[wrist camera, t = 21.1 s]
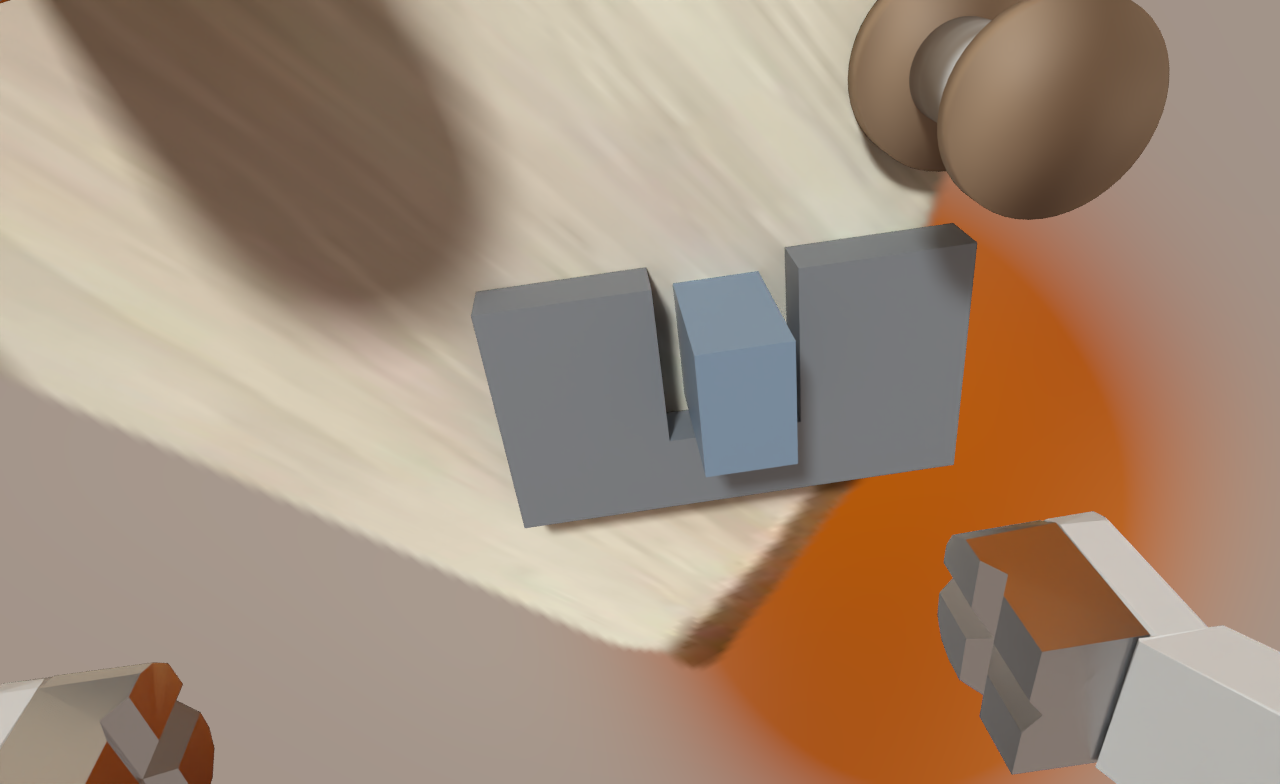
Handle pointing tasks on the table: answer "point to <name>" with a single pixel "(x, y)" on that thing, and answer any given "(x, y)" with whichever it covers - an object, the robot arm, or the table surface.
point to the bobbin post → (1012, 95)
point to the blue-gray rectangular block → (737, 373)
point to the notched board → (665, 442)
